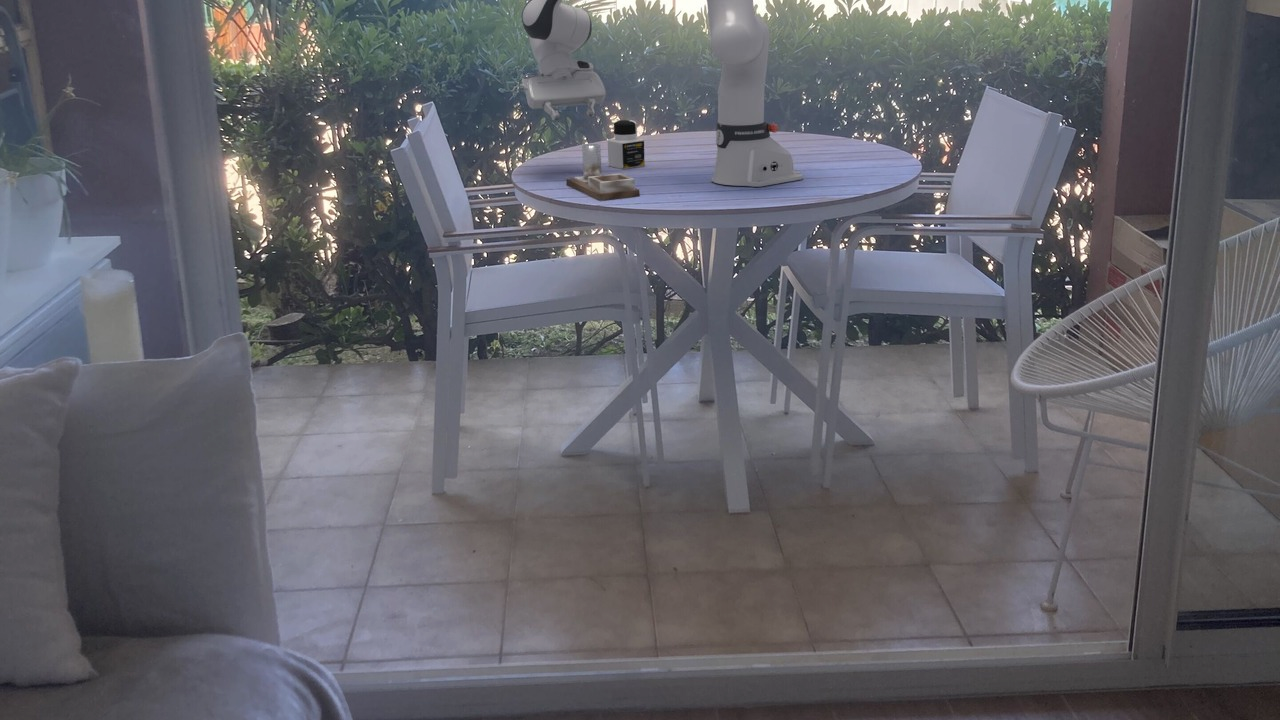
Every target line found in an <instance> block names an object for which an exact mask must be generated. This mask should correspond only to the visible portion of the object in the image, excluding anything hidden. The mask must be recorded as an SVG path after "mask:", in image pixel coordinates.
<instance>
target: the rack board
mask: <svg viewBox="0 0 1280 720" xmlns="http://www.w3.org/2000/svg"><path fill="white" fill-rule="evenodd" d="M635 181H636V180H635V178H633V177H631V176H628V175H626V174H623V173H612V174H601V176H591V177H588V180H586V179H584V177H583V176H582V175H581V176H574V177H572V178H566V182H565V183H566V186H567V187H570V188H572V189H574V190H576V191H578V192H580V193H582V192H583V193H582V194H584V193H585V194H584V195H587V196H589V197H590V198H592V199H595V200H597V201H599V200H604V201H610V200H612V201H613V200H620V199H629V198H637V197H640V195H641V193H640V189H639V188H636V182H635Z"/></svg>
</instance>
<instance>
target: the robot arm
mask: <svg viewBox="0 0 1280 720" xmlns="http://www.w3.org/2000/svg"><path fill="white" fill-rule="evenodd" d="M563 1H564V0H529V1H528V2H527V3H526V4H525V5H524V7H523V10H522V13H521V22H522V26H523V29H524V31H525V32H526V34H527V35H528V38H529V44H530V48H531V51H532V54H533V58H534V59H535V60H536V61H537V68H538V71H539V74H534V75H532V74H528V75H525V76H524V77H523V78H521V81H520V82H521V86H522V88H523V90H525V98H526V102H527V105H528V107H529V108H530V109H532V110H534V109H535V110H538V109H543V111H544V112H545V113H546V114H548V115H549V116H550V117H551V120H552V121H559V119H560V114H559V110H555V109H554V108H561V107H572V106H573V107H574V106H584V105H586V106H588V107H587V108H586V109H587V110H586V112H585V113H586V116H587V118H594V117H595V114H596V111H595V109H594V107H595V104H596V105H598V104H603V102H604V100H605V98H606V95H607V94H606V93H607V91H606V88H605V85H604V83H603V81H602V79H601V77H600V76H599V74H598V73H597V72H596V71H594V69H595V68H594V67H595V66H594V64H593V63H592V62H590V61H585V60H580V59H577V58H575V57H574V58H573V57H572V56H571V54H574V53H576V52H577V51H579V49H581V48H582V47H583V46H585V44H587V42H588V41H589V40H590V38H591V36H592V29H593V28H592V27H593V25H592V19H591V17H590V15H589V13H588V11H586V10H585V9H581V8H579V7H575V6H572V5H569V4H565V3H564V2H563ZM706 5H707V14H708V16H707V17H708V24H709V25H708V26H709V32H710V47H711V52H712V53H713V55H714V57H715V58H716V59H717V60H718V61H719V62H721V63H722V64H721V65H722V66H721V74H720V81H719V85H718V88H717V89H718V90H717V102H718V103H717V122H716V133H715V139H716V140H715V141H716V146H717V150H716V156H715V157H716V158H715V159H716V160H715V165H714V171H713V175H712V178H711V182H713V183H715V184H718V185H725V186H735V187H736V186H739V187H741V186H743V187H754V188H755V187H756V188H757V187H765V186H772V185H778V184H782V183H788V182H794V181H800V180H804V179H803V177H804V176H803V173H801V171H798V170H795V168H794V161H793V156H792V154H791V153H790V151H789V150H788V149H787V148H784V147H783V146H782V145H781V144H780V143H779V142H778V141H776V140H775V139H774V138H772V137H771V134H770V132H771V133H777V132H778V131H779V126H778V125H777V124H776V123H775V124H774V123H770V124H769V123H768V122H765V87H766V86H765V85H766V78H767V71H768V70H767V68H768V60H769V47H770V38H771V37H770V35H771V34H770V30H769V27H768V25H767V23H766V22H765V21H764V20H763V19H762V18H760V17H759V16H757V15H755V7H754V0H706Z"/></svg>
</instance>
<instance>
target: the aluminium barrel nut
mask: <svg viewBox="0 0 1280 720" xmlns="http://www.w3.org/2000/svg"><path fill="white" fill-rule="evenodd" d="M581 148H582V150H581V152H582V172H583V173H582V174H583V177H584V179H586V180H588V177H591V176H601V175H602V157H601V156H602V154H601V144H600V143H586V144H582V146H581Z"/></svg>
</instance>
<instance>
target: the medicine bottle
mask: <svg viewBox="0 0 1280 720" xmlns="http://www.w3.org/2000/svg"><path fill="white" fill-rule="evenodd" d="M637 125H638V123H637V122H636V121H635V120H632V119H623V120H616V121H615V122H614V123H613V137H614V138H608V139H607V162H608V164H607V165H608V167H612V168H615V169H616V168H617V169H619V170H628V169H629V170H630V169H635V168H642V167H644V166H645V165H646V161H645V140H644V138H637V136H638V126H637Z"/></svg>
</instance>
